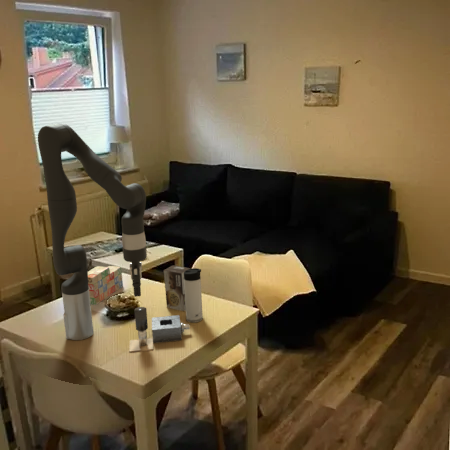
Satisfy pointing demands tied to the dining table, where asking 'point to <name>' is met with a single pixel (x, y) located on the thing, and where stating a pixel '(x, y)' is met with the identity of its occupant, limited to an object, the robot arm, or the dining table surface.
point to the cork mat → (136, 347)
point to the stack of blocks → (103, 282)
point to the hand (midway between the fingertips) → (137, 290)
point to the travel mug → (193, 295)
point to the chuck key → (141, 324)
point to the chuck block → (167, 328)
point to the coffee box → (175, 287)
